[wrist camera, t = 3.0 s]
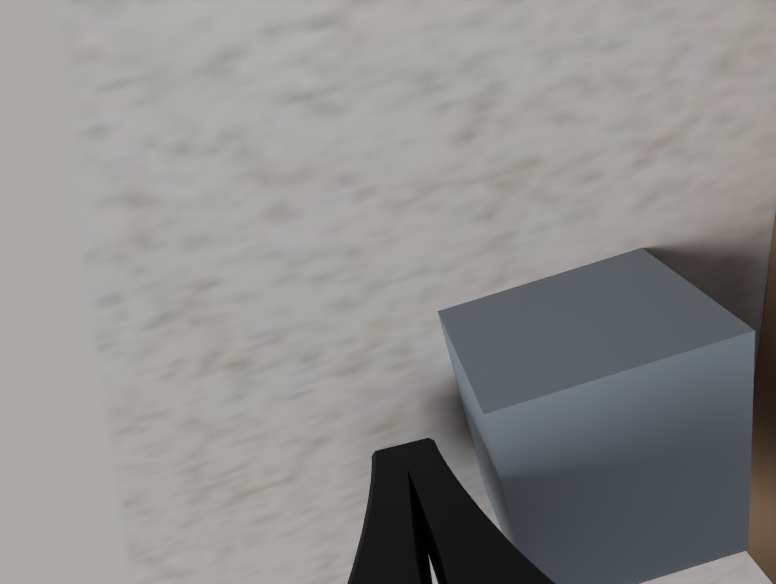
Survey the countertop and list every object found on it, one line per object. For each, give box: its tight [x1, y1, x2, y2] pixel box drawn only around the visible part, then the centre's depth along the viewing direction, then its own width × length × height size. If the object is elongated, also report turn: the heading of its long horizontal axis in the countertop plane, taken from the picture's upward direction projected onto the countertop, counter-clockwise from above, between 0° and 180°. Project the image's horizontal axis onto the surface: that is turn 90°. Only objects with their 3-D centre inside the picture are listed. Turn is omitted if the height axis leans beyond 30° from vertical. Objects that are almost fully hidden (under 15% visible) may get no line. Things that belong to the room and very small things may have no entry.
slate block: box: [438, 248, 755, 584], centre depth 14 cm, size 6×5×4 cm
